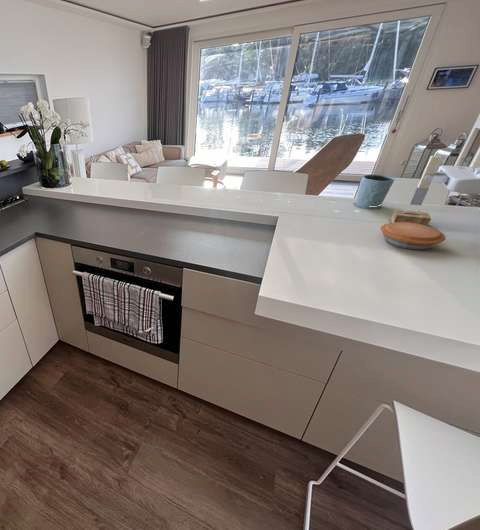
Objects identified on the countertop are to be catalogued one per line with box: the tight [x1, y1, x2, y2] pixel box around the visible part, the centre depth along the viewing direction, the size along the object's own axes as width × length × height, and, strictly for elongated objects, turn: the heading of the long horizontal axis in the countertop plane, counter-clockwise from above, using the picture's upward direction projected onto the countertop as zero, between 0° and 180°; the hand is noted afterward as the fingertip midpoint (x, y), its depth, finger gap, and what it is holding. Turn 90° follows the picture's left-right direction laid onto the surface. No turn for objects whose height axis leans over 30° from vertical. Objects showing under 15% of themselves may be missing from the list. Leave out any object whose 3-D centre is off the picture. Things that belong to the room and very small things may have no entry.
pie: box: [379, 222, 447, 250], centre depth 93 cm, size 16×16×5 cm
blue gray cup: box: [355, 174, 396, 210], centre depth 120 cm, size 10×10×12 cm
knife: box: [409, 155, 443, 206], centre depth 95 cm, size 3×2×16 cm, turn 56°
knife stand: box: [390, 209, 432, 226], centre depth 104 cm, size 9×6×4 cm, turn 56°
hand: (423, 176), depth 95 cm, fingers closed on knife, 2 cm apart
